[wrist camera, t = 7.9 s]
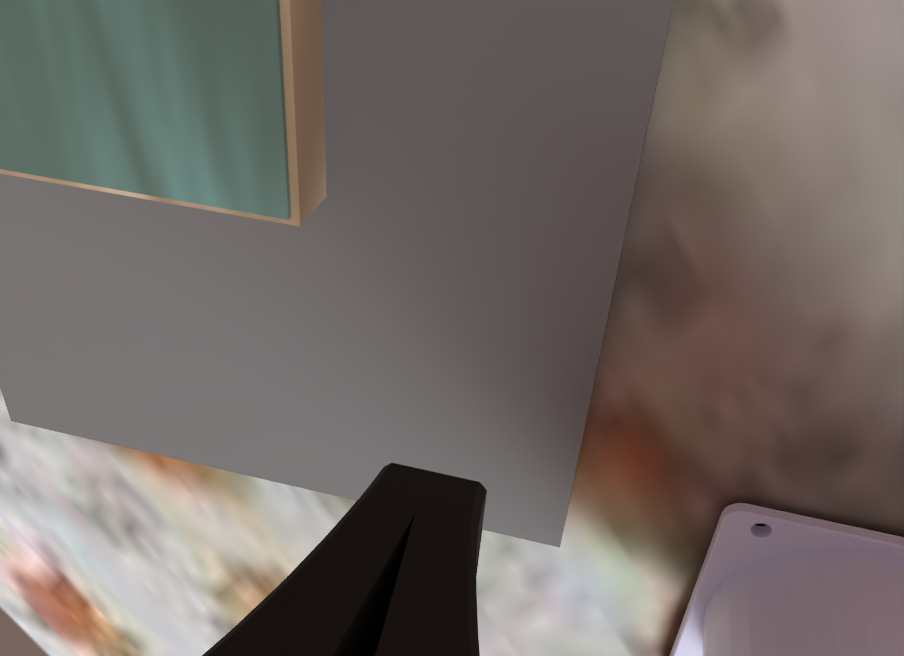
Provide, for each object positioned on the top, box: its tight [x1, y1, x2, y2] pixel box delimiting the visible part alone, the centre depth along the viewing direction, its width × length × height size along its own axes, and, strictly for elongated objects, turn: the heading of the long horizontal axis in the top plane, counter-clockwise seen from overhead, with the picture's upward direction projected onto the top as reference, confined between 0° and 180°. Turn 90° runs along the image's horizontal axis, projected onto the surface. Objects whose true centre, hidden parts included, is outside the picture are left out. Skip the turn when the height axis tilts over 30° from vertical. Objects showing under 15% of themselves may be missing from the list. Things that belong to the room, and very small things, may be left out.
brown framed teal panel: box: [0, 0, 327, 226], centre depth 17 cm, size 2×6×8 cm
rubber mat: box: [0, 0, 674, 547], centre depth 19 cm, size 18×22×1 cm
